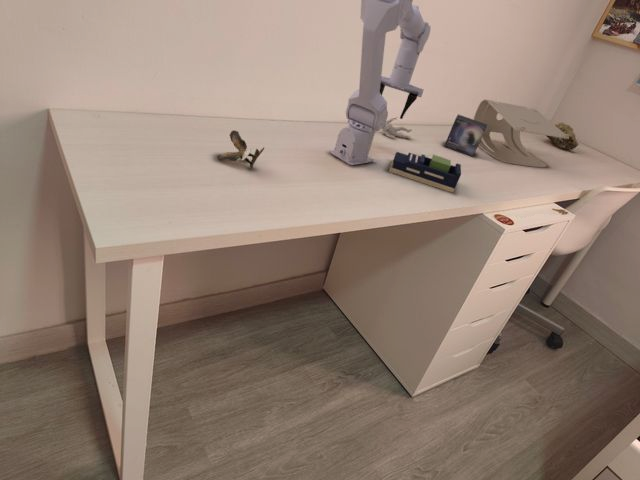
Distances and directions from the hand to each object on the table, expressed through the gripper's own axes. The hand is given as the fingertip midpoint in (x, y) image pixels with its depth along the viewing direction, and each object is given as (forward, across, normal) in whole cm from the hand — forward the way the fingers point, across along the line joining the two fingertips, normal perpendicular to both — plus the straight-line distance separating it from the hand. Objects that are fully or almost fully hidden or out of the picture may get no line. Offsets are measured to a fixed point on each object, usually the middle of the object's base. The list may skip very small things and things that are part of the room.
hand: (388, 114), depth 131 cm
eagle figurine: (+11, +27, +43) cm, 52 cm away
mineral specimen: (+11, -72, -82) cm, 110 cm away
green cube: (+9, -18, +13) cm, 24 cm away
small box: (+11, -26, -26) cm, 38 cm away
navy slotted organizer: (+10, -15, +13) cm, 22 cm away
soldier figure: (+11, -2, -17) cm, 20 cm away
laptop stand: (+11, -45, -42) cm, 63 cm away
